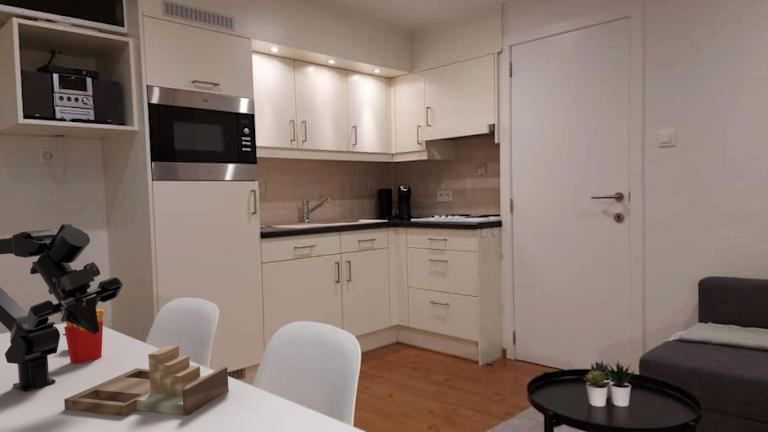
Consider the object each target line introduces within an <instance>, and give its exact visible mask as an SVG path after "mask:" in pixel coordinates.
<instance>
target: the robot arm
mask: <svg viewBox="0 0 768 432" xmlns="http://www.w3.org/2000/svg"><path fill="white" fill-rule="evenodd" d="M90 243H91V239H90V236H89V234H88V233H87V232H84V231H83V230H82V229H80V228H77V227H74V226H73V225H72V223H63V224H61V225H60V227H59V228H58V231H57V232H56V233H55V232H54V231H53V230H51V229H40V230H28V231H27V230H25V231H21V232H17V233H15V234H13V235H12V236H11V237H7V238H5V237H4V238H0V255H8V254H11V255H14V256H15V257H19V258H26V259H27V258H33V257H34V258H35V257H38V258H37V259H36V260H35V261H32V265H31V268H30V272H29V274H30V275H37V274H39V275H40V276H41V279H42V280H43V282H45V284H46V286H47V288H48V291H47V292H48V293H49V295H53V297H54V298H55V300H57V303H55V304H54V303H53V301H52V300H49V299H48V300H45V301H42V302H39V303H36V304H35V305H32V306H30V307H29V310H28V311H26V310H25V309H24V308H23V307H22V306H21V305H20V304H19V303H18V302H17V301H16V300H14V298H13V297H11V295H9V294H8V293H7V292H6V291H5V290H4V289H3V288H2V287H1V286H0V323H1V325H3V326H4V327H5V328H6V329H7V330H8V331H9V332H10V336H9V337H10V338H9V339H10V340H9V343H10V346H8V348H7V350H6V351H5V353H4V357H5V359H6V363H8V364H15V365H17V371H18V372H17V374H18V382H15V383H13V384H12V387H13V388H16V389H18V390H21V391H23V392H26V391H30V390H33V389H37V388H41V387H44V386H47V385H51V384H55V383H56V379H54V378H51V377H50V374H49V373H50V372H49V360H48V359H49V358H48V356H50V355H53V354H57V353H58V348H59V344H60V339H61V332H60V330H59V329H58V327H57V326H56V325H55V324H56V322H55V321H53V320H52V319H50V318H49V317H52V316H54V315H57V314H59V315H60V316H61V319H60V321H61V322H62V323H66V321H68V322H70V323H73V324H75V325H78V326H80V327H82V328H84V329H85V330H87V331H89V332H91V333H93V334H98V333H99V331H100V330H99V324H98V319H97V314H96V310H97V305H98V303H99V302H101V303H104V304H105V303H106V302H109V301H111V300H114V299H116V298H117V297H118V296H119V294H120V291H121V290H122V288H123V286H124V283H123V282H122V281H121V279H120V278H118V277H116V276H113V277H110V278H107V279H104V280H102V281H99V283H98V285H97V288H96V289H94V290H90V288H91V287H92V285H91V283H92V282H95V281H96V280H95V279H96V278H97V277H98V276H100V275H101V271H100V269H99V267H98V265H97V264H96V263H95V261H93V262H89V263H86V264H85V265H83V268H82V269H79V270H78V269H76V268H75V269H73V268H72V266H71V265H70V264H71V263H74V262H76V261H77V260H78V258H80V256H81V254H82V253H83V252H84V250H85V249H86V248H87V247H88V246H89V244H90ZM88 290H90V291H88Z"/></svg>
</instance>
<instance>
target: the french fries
mask: <svg viewBox="0 0 768 432" xmlns="http://www.w3.org/2000/svg"><path fill="white" fill-rule="evenodd" d="M104 313H105V311H104V309H102V308H98V309H96V314H97V319H98V324H99V330H100V331H99V333H98V334H93V333H91V332H89V331H87V330H85V329H84V328H82V327H80V326H78V325H75V324H73V323H70V322H68V321H65V324H66V326H64V334H66V335H65V338H66V339H65V340H66V344H67V350H68V356H69V360H70V363H71V364H73V365H77V364H83V363H88V362H92V361H95V360H99V359H100V358H102V352H103V351H102V349H103V331H104V330H103V327H104V320H103V317H104Z"/></svg>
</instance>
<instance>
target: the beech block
mask: <svg viewBox="0 0 768 432" xmlns="http://www.w3.org/2000/svg"><path fill="white" fill-rule="evenodd" d="M179 347H180V346H179V345H167V346H165V347H161V348H160V349H157V350H155V351H153V352H150V353H148V354H147V355H148V369H149V375H150V392H151V393H154V394H165V395H175V396H183V394H182V389H183V388H185V387H187V386H188V385H190V384H192V383H194V382H196V381H198V380H200V379H201V378H203V377H205V376H206V375H205V376H204V375H201V367H200V365H191V364H190V356H189V355H180V348H179Z"/></svg>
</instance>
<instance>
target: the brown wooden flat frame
mask: <svg viewBox="0 0 768 432" xmlns="http://www.w3.org/2000/svg"><path fill="white" fill-rule="evenodd" d="M228 372H229V371H228V366H222V367H220V368H218V369H216V370H214V371H213V372H211V373H209V374H208V375H205V377H203V378H201V379H200V380H198V381H196V382H194V383H192V384H190V385H188V386H187V387H185V388H183V389H182V394H183V396H175V395H165V394H154V393H151V392H150V375H149V368H133V369H131V370H129V371H126V372H125V373H121V374H119V375H117V376H115V377H112V378H110V379H108V380H106V381H103V382H101V383H98V384H96V385H94V386H92V387H89V388H86V389H84V390H82V391H80V392H78V393H75V394H74V395H70V396H69V397H68V396H67V397H66V398H64V400H63V401H64V402H63V403H64V410H70V411H79V412H88V413H96V414H103V415H104V414H105V415H110V416H111V415H112V416H113V415H114V416H120V417H126V416H127V415H130V414H131V413H133V412H135V411H144V412H153V413H163V414H172V415H181V416H189V415H191V414H193V413H194V412H196V411H198V410H199V409H201V408H202V407H204V406H206V405H207V404H209V403H211V402H212V401H214V400H215V399H217V398H218V397H221V396H222V395H224V394H225V393H227V392H228V391H229V390H230V389H229V375H228V374H229V373H228Z"/></svg>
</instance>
